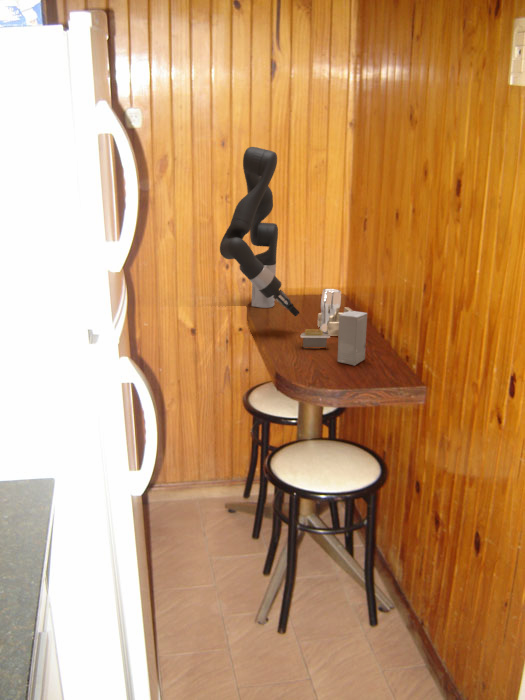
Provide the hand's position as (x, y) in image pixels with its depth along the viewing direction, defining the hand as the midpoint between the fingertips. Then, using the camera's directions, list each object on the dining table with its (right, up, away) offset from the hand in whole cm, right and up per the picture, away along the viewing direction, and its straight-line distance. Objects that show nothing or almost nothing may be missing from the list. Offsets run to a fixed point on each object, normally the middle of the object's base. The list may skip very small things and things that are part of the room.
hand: (297, 314), depth 260 cm
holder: (+14, -6, +6) cm, 17 cm away
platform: (+5, -12, -13) cm, 19 cm away
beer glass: (+11, -6, +5) cm, 14 cm away
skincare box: (+16, -16, -25) cm, 34 cm away
